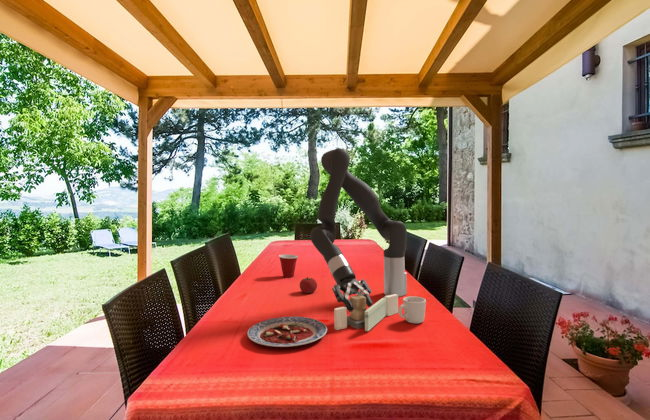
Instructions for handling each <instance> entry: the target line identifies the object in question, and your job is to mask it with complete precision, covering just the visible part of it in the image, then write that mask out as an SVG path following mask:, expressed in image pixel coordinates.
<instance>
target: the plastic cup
mask: <svg viewBox="0 0 650 420" xmlns="http://www.w3.org/2000/svg"><path fill="white" fill-rule="evenodd" d="M278 257H279V261H280V267H281V272H282V277H283V276H284V277H283V278H285V277H286V278H288V279H291V278H294V276H295V270H296V265H297V260H298V258H299V256H298V255H296V254H288V253H287V254H279V255H278Z"/></svg>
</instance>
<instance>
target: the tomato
mask: <svg viewBox="0 0 650 420" xmlns="http://www.w3.org/2000/svg"><path fill="white" fill-rule="evenodd" d="M299 288H300V291H301V292H303V293H304V294H305V295H306V294H307V295H308V294H312V293H315V291H316V290H317V288H318V283H317V281H316V279H314V278H312V277H310V278H309V277H305V278H302V279H301V280H300V282H299Z"/></svg>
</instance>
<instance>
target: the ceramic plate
mask: <svg viewBox="0 0 650 420" xmlns="http://www.w3.org/2000/svg"><path fill="white" fill-rule="evenodd" d="M327 332H328V327H327V325H326V324H325V323H324V322H322V321H320V320H318V319H315V318H312V317H306V316H281V317H280V316H279V317H273V318H268V319H266V320H265V319H264V320H261V321H260V322H257V323H255V324H254V325H252V326H250V328H249V329H248V330H247V337H248V338H249V340H250V341H252V342H254V343H255V344H259V345H262V346H266V347H275V348H276V347H277V348H279V347H280V348H283V347H284V348H288V347H298V346H303V345H307V344H311V343H313V342H316V341H318V340H319V339H322V338H323V337H324V336H326V334H327Z"/></svg>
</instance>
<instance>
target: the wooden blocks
mask: <svg viewBox="0 0 650 420" xmlns="http://www.w3.org/2000/svg"><path fill="white" fill-rule="evenodd" d="M383 298H386V316H388V317H389V316H390V317H391V316H393V315H396V314H399V296H398V295H397V294H393V295H388V296H387V295H385V296H384V297H383ZM333 309H334V310H333V316H334V319H333V320H334V323H333V325H334V326H333V327H334V330H336V331H338V330H344V329H347V328H348V325H347V316H348V315H347V313H348V312H347V311H348V309H347V308H346V306H343V305H342V306H338V307H336V308H333Z"/></svg>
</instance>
